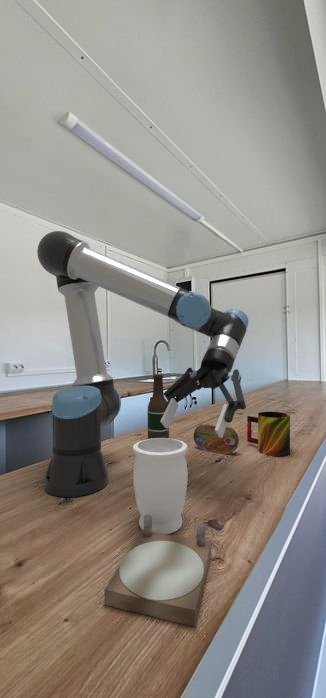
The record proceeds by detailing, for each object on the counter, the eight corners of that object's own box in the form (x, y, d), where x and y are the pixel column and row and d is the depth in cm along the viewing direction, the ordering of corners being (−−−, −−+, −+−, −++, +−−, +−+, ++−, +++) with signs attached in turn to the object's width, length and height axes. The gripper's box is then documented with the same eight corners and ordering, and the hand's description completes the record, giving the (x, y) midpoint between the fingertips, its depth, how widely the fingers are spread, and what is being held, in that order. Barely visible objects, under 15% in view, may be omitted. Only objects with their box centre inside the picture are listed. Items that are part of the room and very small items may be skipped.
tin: (193, 448, 106) (192, 423, 106) (197, 446, 109) (197, 421, 109) (236, 456, 98) (236, 429, 98) (240, 453, 100) (240, 427, 100)
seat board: (104, 604, 42) (104, 566, 42) (141, 541, 55) (141, 512, 55) (195, 626, 38) (195, 585, 38) (211, 554, 52) (211, 523, 52)
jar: (183, 543, 55) (183, 455, 55) (126, 536, 57) (125, 452, 57) (190, 511, 65) (190, 438, 65) (141, 507, 67) (141, 435, 67)
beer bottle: (173, 440, 115) (173, 373, 115) (161, 446, 108) (161, 375, 108) (155, 437, 119) (155, 373, 119) (143, 442, 113) (142, 374, 112)
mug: (247, 444, 110) (247, 409, 110) (290, 449, 104) (290, 412, 104) (242, 453, 101) (242, 415, 101) (289, 459, 95) (289, 419, 95)
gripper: (273, 368, 75) (250, 448, 63) (183, 365, 90) (151, 430, 78) (265, 346, 71) (239, 427, 59) (173, 347, 86) (137, 412, 74)
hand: (189, 429), depth 69 cm, fingers open, 13 cm apart
